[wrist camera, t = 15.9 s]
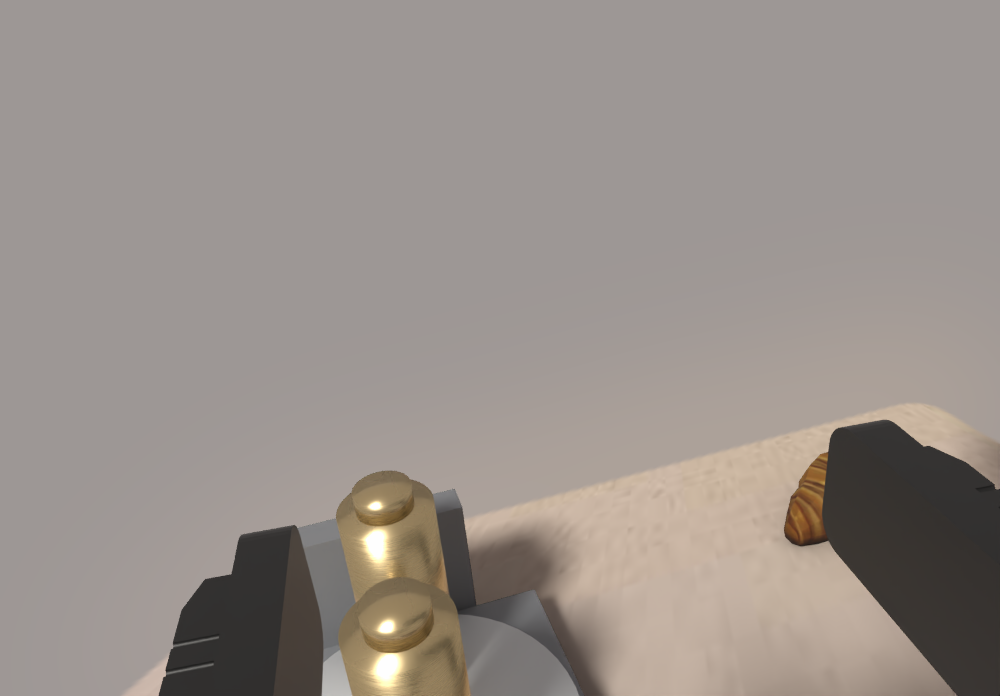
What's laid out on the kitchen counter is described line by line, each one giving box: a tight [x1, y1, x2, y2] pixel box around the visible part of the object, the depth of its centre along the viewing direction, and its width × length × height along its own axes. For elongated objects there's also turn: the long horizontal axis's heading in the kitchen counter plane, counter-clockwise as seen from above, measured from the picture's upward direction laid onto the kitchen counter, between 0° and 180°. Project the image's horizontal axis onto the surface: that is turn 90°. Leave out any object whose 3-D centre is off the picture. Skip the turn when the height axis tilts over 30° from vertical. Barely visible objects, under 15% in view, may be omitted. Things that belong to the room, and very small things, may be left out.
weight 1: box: [336, 471, 450, 602], centre depth 42 cm, size 5×5×13 cm
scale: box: [297, 489, 584, 696], centre depth 42 cm, size 18×21×11 cm
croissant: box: [784, 452, 828, 546], centre depth 59 cm, size 14×7×5 cm, turn 124°
